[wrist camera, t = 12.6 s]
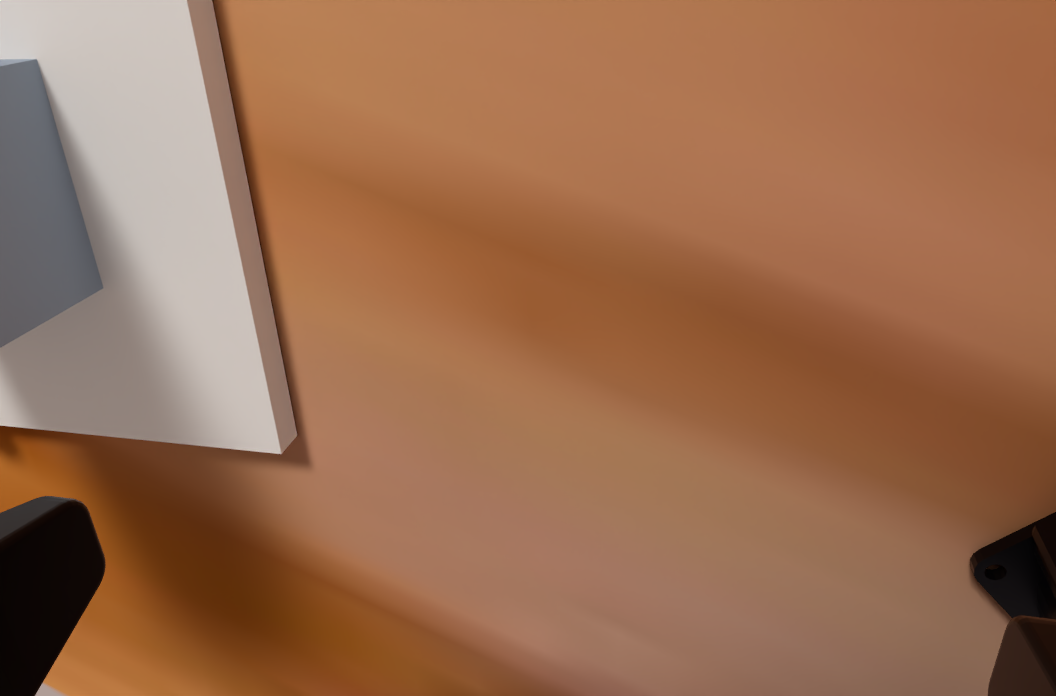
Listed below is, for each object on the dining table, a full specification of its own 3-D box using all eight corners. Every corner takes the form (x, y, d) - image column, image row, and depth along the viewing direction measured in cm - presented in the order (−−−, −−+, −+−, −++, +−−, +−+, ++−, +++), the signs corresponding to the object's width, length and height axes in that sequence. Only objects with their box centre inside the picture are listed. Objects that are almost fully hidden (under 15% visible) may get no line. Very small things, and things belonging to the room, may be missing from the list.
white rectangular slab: (173, -196, 18) (118, -208, 16) (297, 435, 25) (267, 470, 23) (-260, -160, 20) (-344, -167, 19) (-34, 403, 27) (-80, 432, 26)
